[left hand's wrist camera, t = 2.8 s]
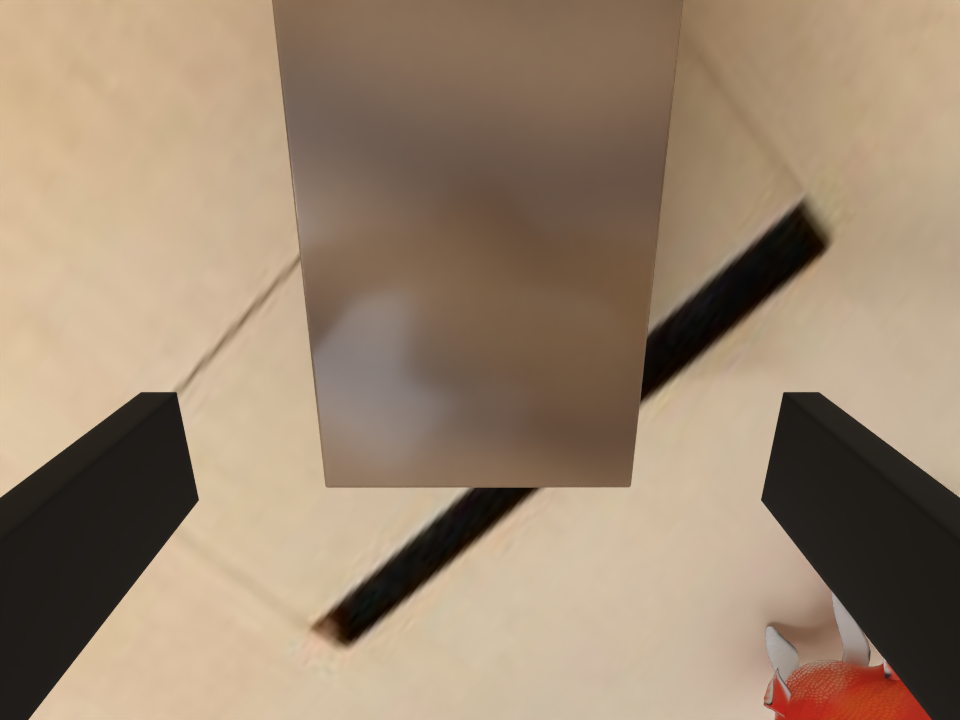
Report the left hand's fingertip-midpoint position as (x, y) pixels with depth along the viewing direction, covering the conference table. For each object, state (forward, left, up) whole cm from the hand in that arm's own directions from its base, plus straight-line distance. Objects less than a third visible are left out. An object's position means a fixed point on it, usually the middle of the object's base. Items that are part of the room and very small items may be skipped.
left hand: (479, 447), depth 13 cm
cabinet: (+6, -1, -13) cm, 15 cm away
